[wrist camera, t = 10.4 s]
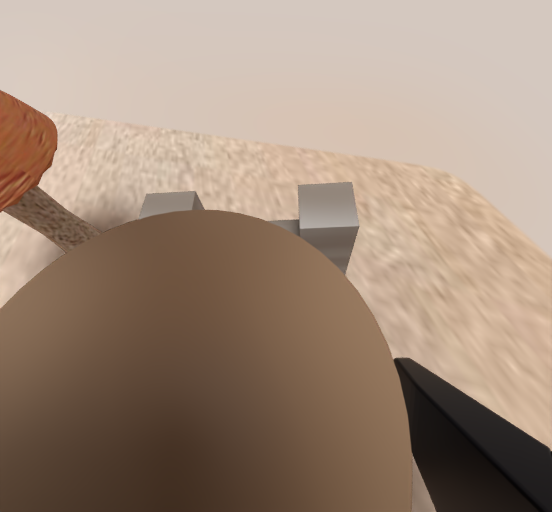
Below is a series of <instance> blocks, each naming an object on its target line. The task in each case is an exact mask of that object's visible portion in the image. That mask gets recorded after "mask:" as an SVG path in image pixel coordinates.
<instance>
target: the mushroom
mask: <svg viewBox="0 0 552 512" xmlns="http://www.w3.org/2000/svg"><path fill="white" fill-rule="evenodd" d="M56 150H57V129H56V126H55V124H54V123H53V121H52V120H51V119H50V118H48V117H47V116H46V115H44V114H42V113H41V112H39V111H37V110H36V109H34V108H32V107H31V106H29V105H27V104H25V103H24V102H22V101H20V100H18V99H16V98H15V97H13V96H11V95H9V94H7V93H5V92H3V91H1V90H0V212H2V211H4V212H6V213H8V214H9V215H11V216H13V217H14V218H16V219H18V220H20V221H21V222H23V223H25V224H26V225H28V226H30V227H32V228H33V229H35V230H37V231H39V232H40V233H42V234H43V235H44V236H46V237H47V238H48V239H50V240H51V241H52V242H54V243H55V244H56V245H58V246H59V247H60V248H61V249H63V250H64V251H65V252H69V251H71V250H72V249H74V248H76V247H77V246H79V245H81V244H82V243H84V242H86V241H88V240H90V239H92V238H94V237H96V236H98V235H100V234H102V232H101V231H99V230H98V229H96V228H94V227H93V226H91V225H90V224H88V223H87V222H85V221H83V220H82V219H80V218H79V217H77V216H75V215H74V214H72V213H71V212H69V211H68V210H66V209H65V208H64V207H63V206H61V205H60V204H59V203H58V202H56V201H55V200H54V199H53V198H51V197H50V196H49V195H48V194H47V193H45V192H44V191H43V190H42V189H40V188H39V187H38V186H37V185H38V184H39V182H40V179H41V177H42V174H43V173H44V172H45V171H46V170H47V169H48V168H50V167H51V165H52V161H53V157H54V153H55V151H56Z"/></svg>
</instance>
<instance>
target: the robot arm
mask: <svg viewBox="0 0 552 512" xmlns="http://www.w3.org/2000/svg"><path fill="white" fill-rule="evenodd" d="M393 361H394V364H395V367H396V369H397V372H398V375H399V378H400V383H401V387H402V392H403V396H404V401H405V405H406V410H407V414H408V422H409V432H410V441H411V451H412V454H413V456H414V459H415V461H416V464H417V466H418V468H419V471H420V473H421V475H422V478H423V480H424V483H425V485H426V487H427V490H428V492H429V495H430V497H431V499H432V502H433V504H434V506H435V509H436V511H437V512H552V451H550V449H549V447H547V446H546V445H544V444H542V443H541V442H539V441H538V440H536V439H535V438H533V437H532V436H530V435H528V434H527V433H525V432H524V431H522V430H521V429H519V428H518V427H516V426H514V425H513V424H511V423H510V422H508V421H507V420H505V419H504V418H502V417H500V416H499V415H497V414H496V413H494V412H493V411H491V410H490V409H488V408H487V407H485V406H483V405H482V404H480V403H479V402H477V401H476V400H474V399H473V398H471V397H469V396H468V395H466V394H465V393H463V392H462V391H460V390H459V389H457V388H455V387H454V386H452V385H451V384H449V383H448V382H446V381H445V380H443V379H442V378H440V377H438V376H437V375H435V374H434V373H432V372H431V371H429V370H428V369H426V368H424V367H423V366H421V365H420V364H418V363H417V362H415V361H414V360H412V359H410V358H395V359H394V360H393Z"/></svg>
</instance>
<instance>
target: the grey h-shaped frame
mask: <svg viewBox="0 0 552 512" xmlns="http://www.w3.org/2000/svg"><path fill="white" fill-rule="evenodd" d="M298 198H299V220H278V221H267V222H270V223H272V224H275V225H277V226H280V227H282V228H284V229H286V230H288V231H289V232H291V233H293V234H295V235H297V236H299V237H301V238H302V239H304V240H305V241H306V242H308V243H309V244H311V245H312V246H313V247H315V248H316V249H317V250H319V251H320V252H322V253H323V254H324V255H325V256H326V257H327V258H328V259H329V260H330V261H331V262H332V263H333V264H334V265H336V266H337V267H338V268H339V269H340V270H341V271H342V273H343V274H344V275H345V273H346V270H347V266H348V263H349V259H350V256H351V253H352V249H353V246H354V242H355V239H356V236H357V232H358V229H359V221H358V215H357V209H356V203H355V197H354V191H353V185H352V182H343V183H326V184H308V185H298ZM186 210H205V209H204V207H203V205H202V203H201V201H200V199H199V197H198V195H197V193H196V191H188V192H171V193H153V194H146V196H145V200H144V203H143V206H142V210H141V213H140V216H139V219H142V218H145V217H149V216H152V215H158V214H163V213H168V212H174V211H186Z"/></svg>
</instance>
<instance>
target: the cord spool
mask: <svg viewBox="0 0 552 512" xmlns="http://www.w3.org/2000/svg"><path fill="white" fill-rule="evenodd" d="M411 508H412V451H411V441H410V432H409V422H408V414H407V410H406V405H405V401H404V396H403V392H402V387H401V383H400V378H399V375H398V372H397V369H396V367H395V364H394V361H393V358H392V355H391V352H390V349H389V347H388V344H387V342H386V340H385V338H384V336H383V334H382V332H381V329H380V327H379V325H378V323H377V321H376V319H375V317H374V315H373V314H372V312H371V311H370V309H369V307H368V306H367V304H366V303H365V301H364V300H363V298H362V297H361V295H360V294H359V292H358V291H357V289H356V288H355V287H354V286H353V285H352V283H351V282H350V281H349V280H348V279H347V277H346V276H345V275H344V274H343V273H342V271H341V270H340V269H339V268H338V267H337V266H336V265H334V264H333V263H332V262H331V261H330V260H329V259H328V258H327V257H326V256H325V255H324V254H323V253H322V252H320V251H319V250H317V249H316V248H315V247H313V246H312V245H311V244H309V243H308V242H306V241H305V240H304V239H302V238H301V237H299V236H297V235H295V234H293V233H291V232H289V231H288V230H286V229H284V228H282V227H280V226H277V225H275V224H272V223H270V222H267V221H265V220H262V219H259V218H255V217H252V216H248V215H244V214H240V213H234V212H226V211H219V210H186V211H174V212H168V213H163V214H158V215H152V216H149V217H145V218H142V219H138V220H135V221H131V222H128V223H126V224H123V225H121V226H118V227H115V228H113V229H110V230H108V231H106V232H104V233H102V234H100V235H98V236H96V237H94V238H92V239H90V240H88V241H86V242H84V243H82V244H81V245H79V246H77V247H76V248H74V249H72V250H71V251H69V252H67V253H66V254H64V255H63V256H61V257H60V258H59V259H57V260H56V261H54V262H53V263H52V264H50V265H49V266H48V267H46V268H45V269H43V270H42V271H41V272H40V273H38V274H37V275H36V276H35V277H34V278H33V279H31V280H30V281H29V282H28V283H27V284H26V285H24V286H23V287H22V288H21V289H20V290H19V291H18V292H17V293H16V294H15V295H14V296H13V297H12V298H11V299H10V300H9V301H8V302H7V303H6V304H5V305H4V306H3V307H2V308H1V309H0V512H411Z"/></svg>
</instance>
